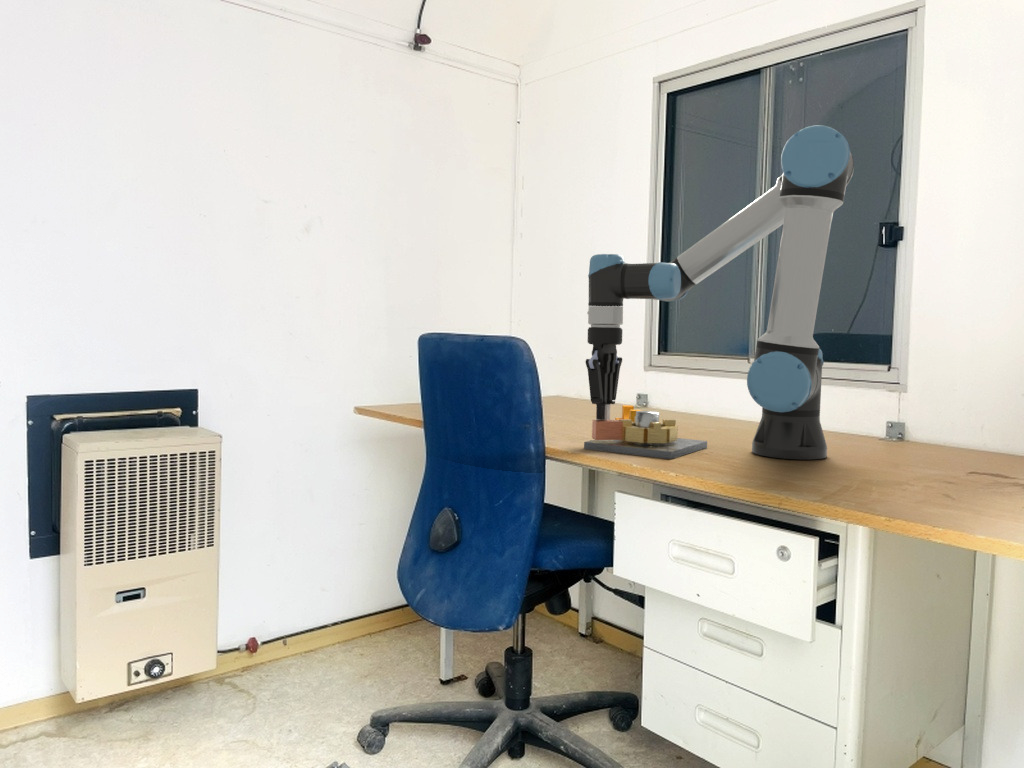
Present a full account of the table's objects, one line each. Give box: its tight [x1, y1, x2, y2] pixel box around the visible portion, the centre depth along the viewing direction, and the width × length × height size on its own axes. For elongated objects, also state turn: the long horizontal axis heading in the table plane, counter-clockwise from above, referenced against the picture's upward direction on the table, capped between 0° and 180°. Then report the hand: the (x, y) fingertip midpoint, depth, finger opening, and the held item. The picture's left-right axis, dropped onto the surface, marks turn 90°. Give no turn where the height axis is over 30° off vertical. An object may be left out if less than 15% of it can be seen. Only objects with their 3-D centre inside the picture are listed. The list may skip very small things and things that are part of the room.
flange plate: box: [583, 410, 708, 460], centre depth 176 cm, size 20×20×8 cm
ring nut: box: [591, 416, 679, 443], centre depth 175 cm, size 18×12×4 cm
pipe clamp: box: [614, 404, 642, 422], centre depth 201 cm, size 12×4×6 cm, turn 2°
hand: (602, 433), depth 177 cm, fingers closed
